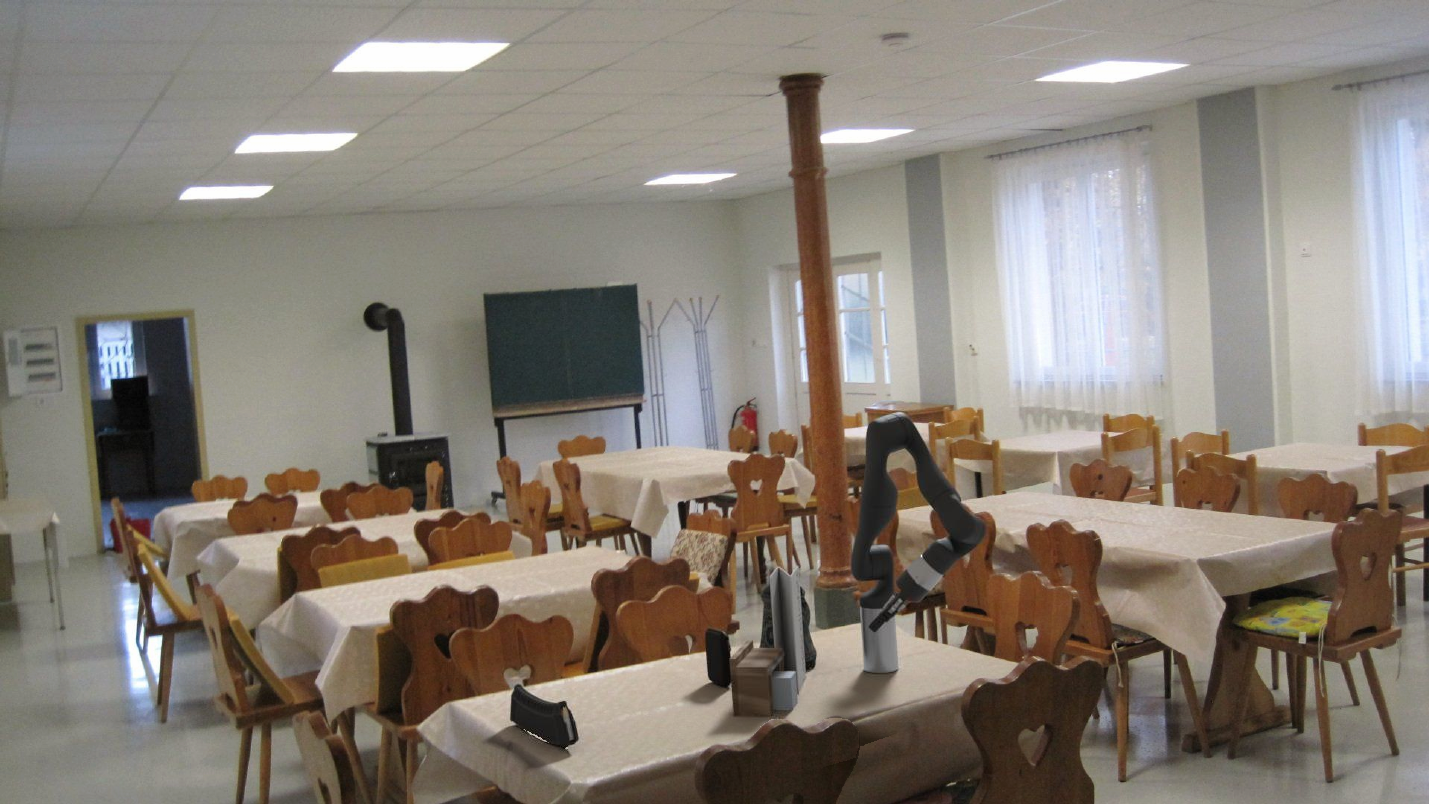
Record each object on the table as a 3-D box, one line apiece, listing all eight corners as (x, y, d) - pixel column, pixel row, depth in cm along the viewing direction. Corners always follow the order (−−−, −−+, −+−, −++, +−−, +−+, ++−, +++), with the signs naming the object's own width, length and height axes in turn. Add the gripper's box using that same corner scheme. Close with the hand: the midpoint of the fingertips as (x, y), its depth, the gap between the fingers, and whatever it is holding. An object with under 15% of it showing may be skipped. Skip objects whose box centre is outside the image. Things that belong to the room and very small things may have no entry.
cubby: (751, 694, 313) (747, 640, 312) (787, 694, 310) (783, 640, 310) (733, 716, 296) (729, 658, 295) (771, 716, 293) (767, 658, 293)
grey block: (750, 702, 306) (748, 671, 306) (797, 703, 303) (795, 671, 303) (745, 710, 301) (742, 677, 300) (792, 710, 297) (790, 678, 297)
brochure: (799, 693, 311) (791, 576, 309) (777, 693, 312) (769, 577, 311) (806, 677, 325) (798, 565, 323) (785, 678, 326) (777, 566, 324)
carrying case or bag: (737, 688, 320) (733, 632, 319) (727, 690, 318) (723, 634, 317) (715, 680, 329) (711, 625, 328) (705, 682, 327) (701, 628, 326)
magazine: (503, 687, 303) (553, 674, 278) (515, 685, 304) (565, 671, 280) (517, 758, 299) (568, 750, 275) (529, 754, 301) (581, 746, 277)
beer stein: (778, 655, 350) (772, 568, 349) (837, 661, 339) (831, 572, 338) (746, 670, 337) (739, 580, 336) (806, 677, 325) (800, 584, 324)
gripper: (911, 561, 298) (864, 612, 302) (904, 572, 285) (855, 625, 289) (934, 583, 296) (886, 633, 300) (929, 595, 284) (879, 647, 288)
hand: (871, 629), depth 295 cm, fingers closed
